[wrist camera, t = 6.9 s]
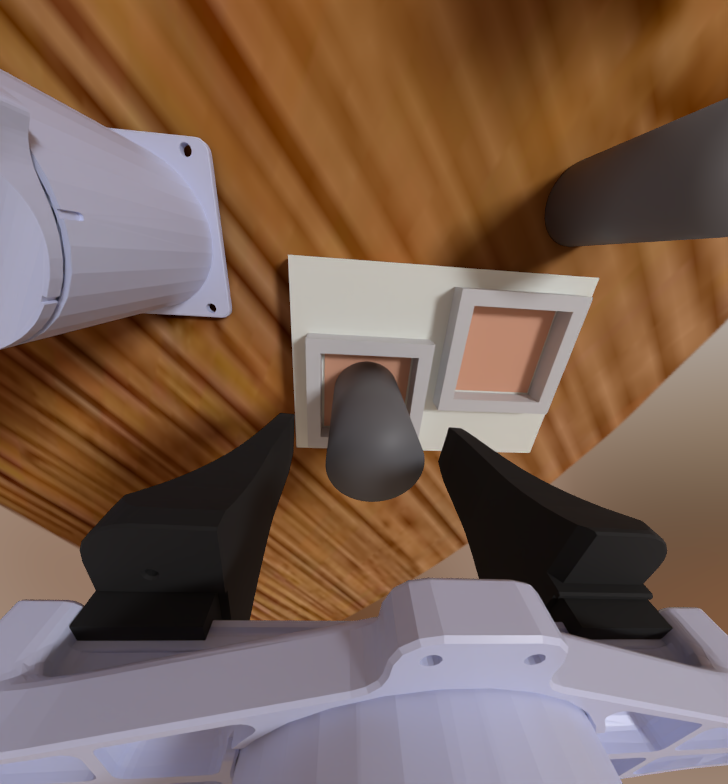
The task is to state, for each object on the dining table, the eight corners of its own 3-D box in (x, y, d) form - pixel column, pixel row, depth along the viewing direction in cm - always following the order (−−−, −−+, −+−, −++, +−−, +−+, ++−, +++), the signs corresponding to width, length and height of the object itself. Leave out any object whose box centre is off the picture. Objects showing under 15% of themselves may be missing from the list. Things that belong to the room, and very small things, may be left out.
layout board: (299, 437, 20) (293, 458, 18) (292, 255, 15) (282, 254, 13) (520, 443, 22) (539, 463, 19) (582, 276, 16) (618, 279, 14)
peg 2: (534, 243, 16) (661, 232, 9) (561, 153, 14) (738, 64, 8) (600, 249, 16) (767, 242, 10) (634, 161, 14) (864, 82, 8)
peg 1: (331, 415, 18) (321, 497, 12) (338, 357, 16) (331, 417, 10) (390, 421, 19) (411, 504, 12) (403, 365, 17) (435, 429, 11)
